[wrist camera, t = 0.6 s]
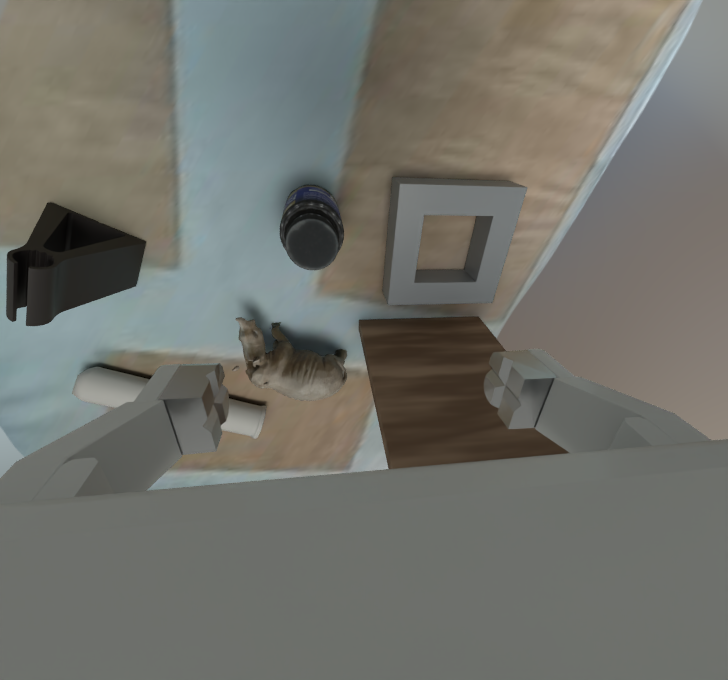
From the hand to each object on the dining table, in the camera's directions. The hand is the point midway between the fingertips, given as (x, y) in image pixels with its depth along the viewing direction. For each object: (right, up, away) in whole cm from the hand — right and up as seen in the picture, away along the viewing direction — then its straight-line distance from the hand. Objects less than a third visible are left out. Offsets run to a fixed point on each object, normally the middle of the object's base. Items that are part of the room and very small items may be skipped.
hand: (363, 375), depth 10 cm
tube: (-28, -7, +41) cm, 50 cm away
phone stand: (-30, +12, +27) cm, 42 cm away
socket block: (+10, +14, +32) cm, 36 cm away
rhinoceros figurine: (-11, +1, +38) cm, 39 cm away
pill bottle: (-6, +16, +28) cm, 33 cm away
